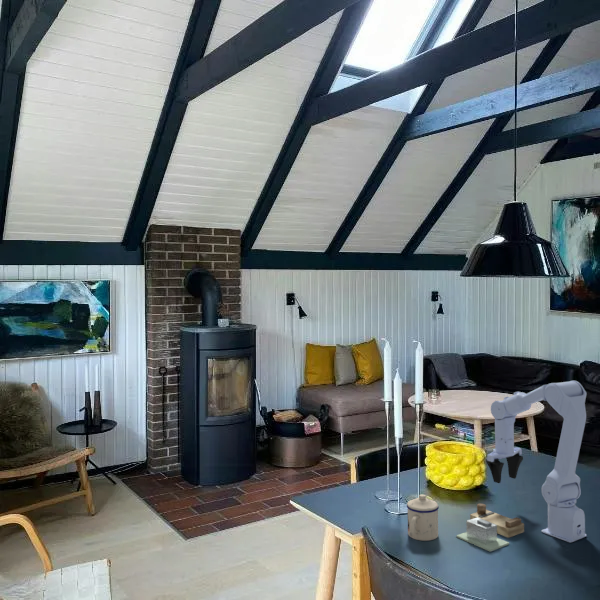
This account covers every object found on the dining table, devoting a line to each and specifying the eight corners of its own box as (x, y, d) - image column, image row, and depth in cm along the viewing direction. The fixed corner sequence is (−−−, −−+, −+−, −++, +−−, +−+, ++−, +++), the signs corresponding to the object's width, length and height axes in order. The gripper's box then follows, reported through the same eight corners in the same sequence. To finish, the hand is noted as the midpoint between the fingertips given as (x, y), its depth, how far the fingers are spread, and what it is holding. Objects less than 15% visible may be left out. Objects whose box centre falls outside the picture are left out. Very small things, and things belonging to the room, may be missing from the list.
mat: (509, 544, 173) (509, 542, 173) (490, 551, 169) (490, 549, 169) (475, 530, 183) (475, 528, 183) (456, 537, 179) (456, 535, 179)
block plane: (524, 531, 181) (523, 515, 181) (508, 537, 177) (508, 520, 177) (485, 517, 193) (485, 501, 193) (470, 522, 189) (470, 506, 189)
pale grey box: (497, 540, 174) (496, 522, 174) (486, 544, 172) (485, 526, 172) (477, 532, 180) (477, 514, 180) (466, 536, 178) (466, 518, 177)
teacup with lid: (414, 526, 187) (413, 488, 186) (443, 532, 182) (443, 493, 181) (397, 541, 177) (397, 500, 176) (428, 548, 172) (427, 506, 171)
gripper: (508, 432, 206) (509, 472, 207) (479, 438, 198) (479, 481, 199) (527, 436, 200) (527, 478, 201) (497, 443, 192) (497, 486, 193)
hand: (504, 480), depth 199 cm, fingers open, 7 cm apart
